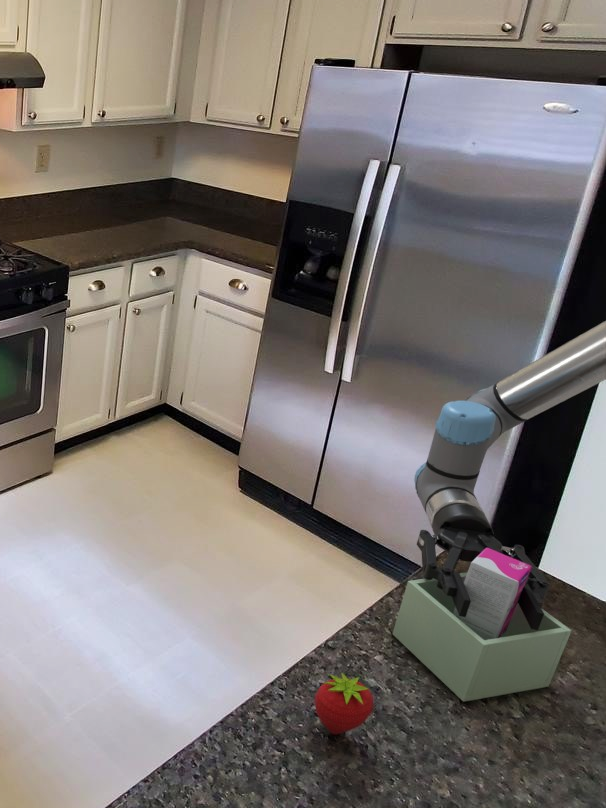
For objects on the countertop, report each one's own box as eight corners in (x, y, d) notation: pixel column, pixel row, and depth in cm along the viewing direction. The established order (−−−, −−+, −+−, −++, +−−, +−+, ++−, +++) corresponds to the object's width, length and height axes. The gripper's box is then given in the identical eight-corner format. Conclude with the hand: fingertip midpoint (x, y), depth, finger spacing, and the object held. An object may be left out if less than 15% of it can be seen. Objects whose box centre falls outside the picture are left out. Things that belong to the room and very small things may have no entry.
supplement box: (493, 650, 108) (518, 582, 103) (446, 628, 112) (467, 561, 107) (508, 632, 111) (533, 564, 106) (462, 610, 115) (484, 545, 111)
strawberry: (375, 740, 101) (394, 680, 97) (332, 760, 98) (349, 700, 94) (337, 707, 106) (353, 649, 101) (295, 726, 103) (310, 667, 99)
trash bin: (470, 621, 121) (488, 569, 117) (548, 686, 109) (572, 630, 105) (392, 634, 119) (407, 580, 114) (463, 702, 106) (483, 645, 102)
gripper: (527, 555, 123) (583, 654, 103) (381, 532, 129) (407, 621, 109) (542, 514, 120) (603, 607, 100) (391, 492, 126) (420, 576, 106)
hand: (501, 614), depth 105 cm, fingers closed on supplement box, 8 cm apart
